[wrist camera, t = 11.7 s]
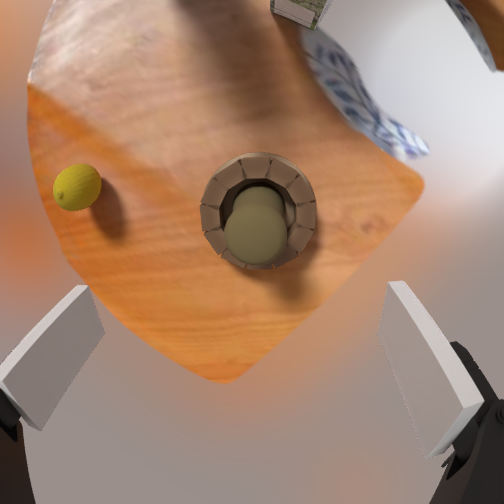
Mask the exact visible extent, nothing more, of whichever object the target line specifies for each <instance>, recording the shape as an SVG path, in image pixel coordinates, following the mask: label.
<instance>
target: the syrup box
mask: <svg viewBox="0 0 504 504" xmlns="http://www.w3.org/2000/svg"><path fill="white" fill-rule="evenodd" d="M332 2H333V0H270V11H271V12H273V13H276V14H278V15H281V16H283V17H285V18H288V19H290V20H292V21H295V22H297V23H299V24H301V25H303V26H306V27H307V28H310V29H312V30H315V28H316V27H317V25H318V24H319V22H320V21H321V19H322V17H323V16H324V14H325V13H326V11H327V10H328V8H329V6H330V5H331V3H332Z"/></svg>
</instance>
